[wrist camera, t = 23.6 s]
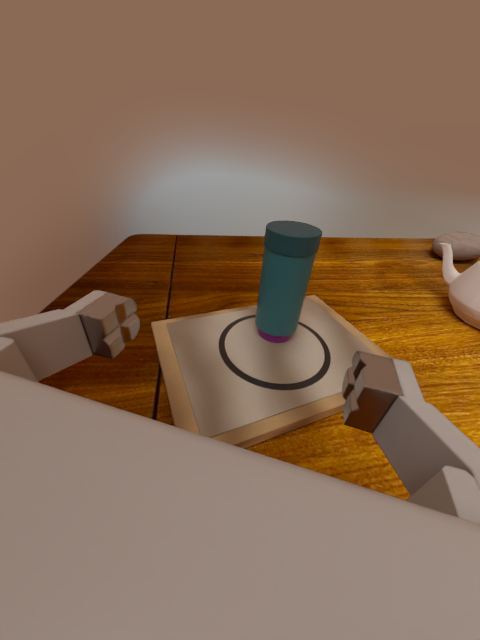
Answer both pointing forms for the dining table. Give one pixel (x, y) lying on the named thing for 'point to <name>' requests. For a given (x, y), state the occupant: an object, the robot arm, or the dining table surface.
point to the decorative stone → (459, 245)
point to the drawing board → (255, 371)
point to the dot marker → (285, 277)
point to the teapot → (462, 288)
